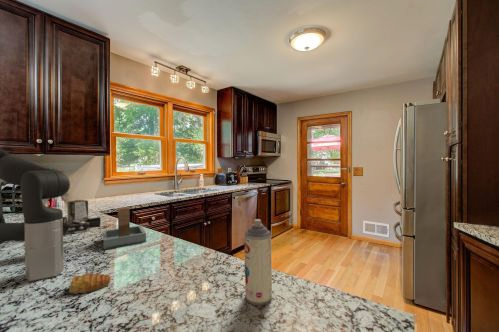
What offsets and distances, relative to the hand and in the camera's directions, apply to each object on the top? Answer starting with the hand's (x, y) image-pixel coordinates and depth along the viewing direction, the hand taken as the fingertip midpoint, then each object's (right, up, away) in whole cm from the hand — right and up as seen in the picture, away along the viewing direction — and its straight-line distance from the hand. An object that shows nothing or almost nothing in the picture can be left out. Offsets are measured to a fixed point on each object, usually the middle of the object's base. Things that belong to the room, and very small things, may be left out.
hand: (100, 221), depth 99 cm
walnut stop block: (+8, -9, +5) cm, 13 cm away
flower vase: (-36, -11, +13) cm, 40 cm away
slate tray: (+8, -10, +5) cm, 14 cm away
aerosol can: (+68, -10, -40) cm, 79 cm away
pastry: (+19, -11, -34) cm, 41 cm away
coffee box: (-26, -11, +22) cm, 36 cm away
